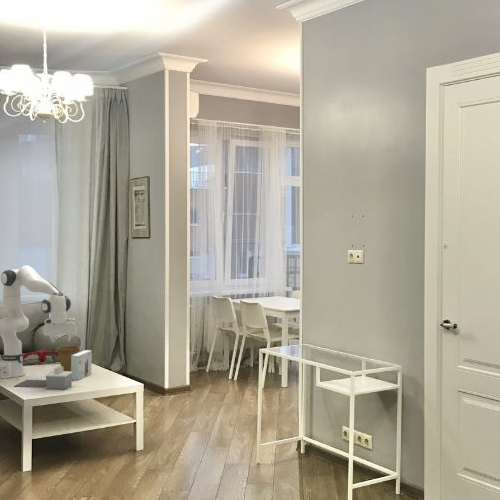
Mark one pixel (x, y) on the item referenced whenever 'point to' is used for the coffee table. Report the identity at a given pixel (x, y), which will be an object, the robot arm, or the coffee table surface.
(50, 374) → the cream lid
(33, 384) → the black rubber mat
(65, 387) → the grey storage box
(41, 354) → the decorative bird sculpture
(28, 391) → the coffee table surface
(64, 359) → the plant pot
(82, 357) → the skincare box
